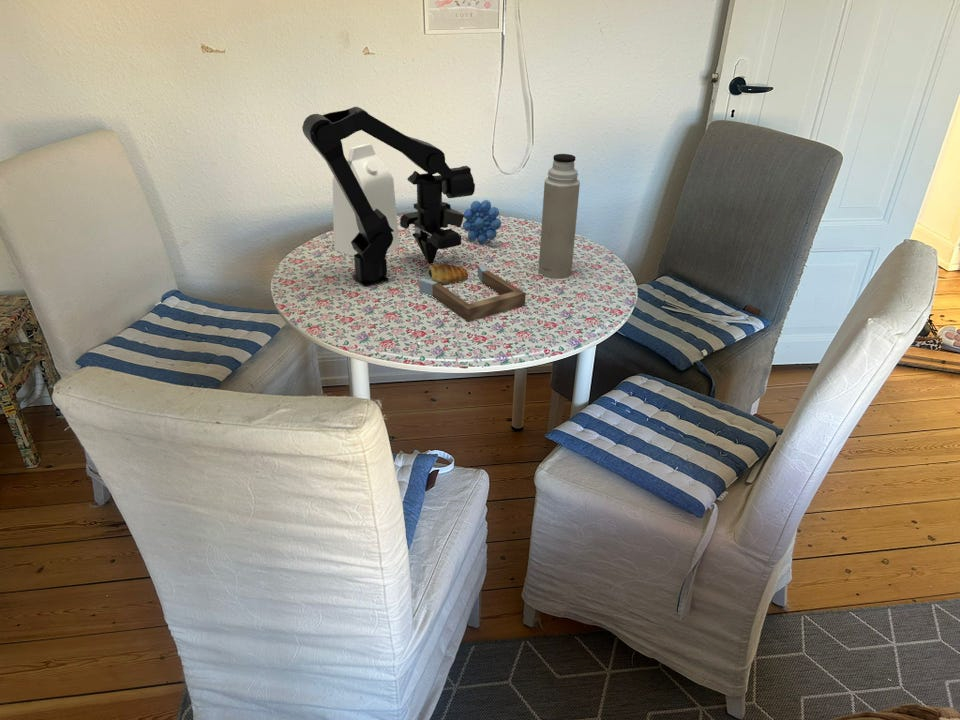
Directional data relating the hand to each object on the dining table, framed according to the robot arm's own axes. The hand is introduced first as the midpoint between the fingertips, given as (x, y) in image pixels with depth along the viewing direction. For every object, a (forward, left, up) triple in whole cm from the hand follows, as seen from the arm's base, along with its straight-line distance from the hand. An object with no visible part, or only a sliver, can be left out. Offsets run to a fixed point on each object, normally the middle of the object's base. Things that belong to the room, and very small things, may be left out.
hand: (430, 263), depth 173 cm
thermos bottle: (+25, -17, -2) cm, 30 cm away
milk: (-7, +20, -2) cm, 21 cm away
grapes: (+21, +8, -2) cm, 23 cm away
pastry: (0, -7, -2) cm, 7 cm away
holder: (0, -19, -2) cm, 19 cm away
